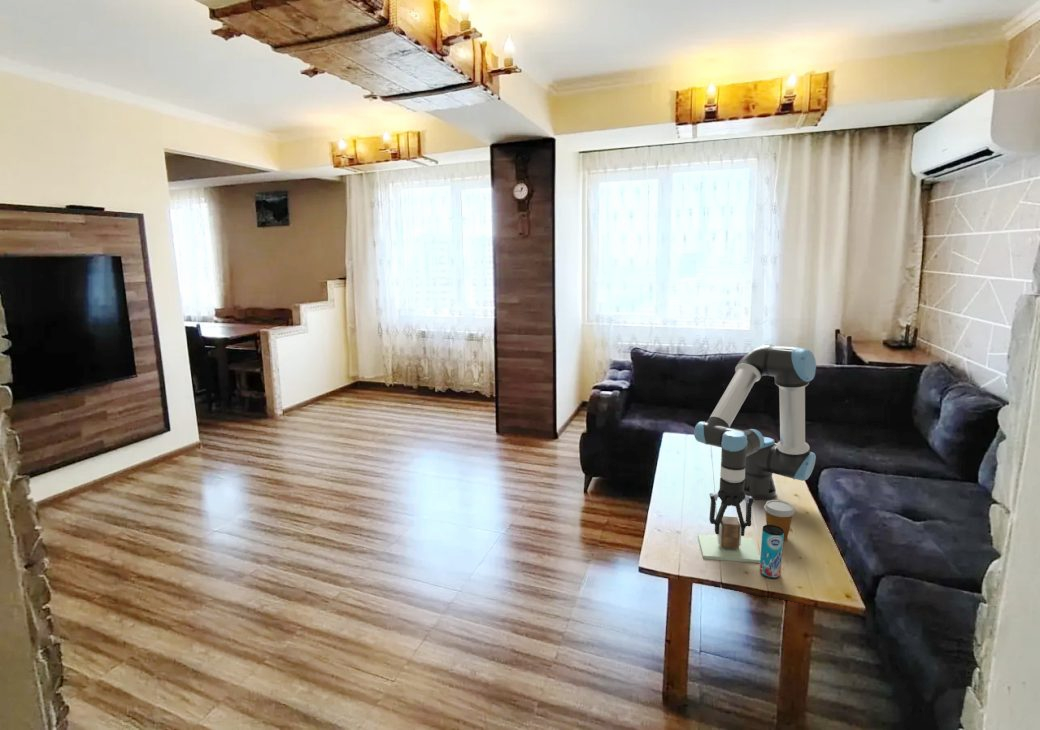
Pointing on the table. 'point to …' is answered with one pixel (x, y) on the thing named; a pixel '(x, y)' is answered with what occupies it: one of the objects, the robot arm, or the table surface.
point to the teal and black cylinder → (771, 551)
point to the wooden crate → (730, 532)
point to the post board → (728, 550)
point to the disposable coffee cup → (779, 515)
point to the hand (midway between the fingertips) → (728, 543)
